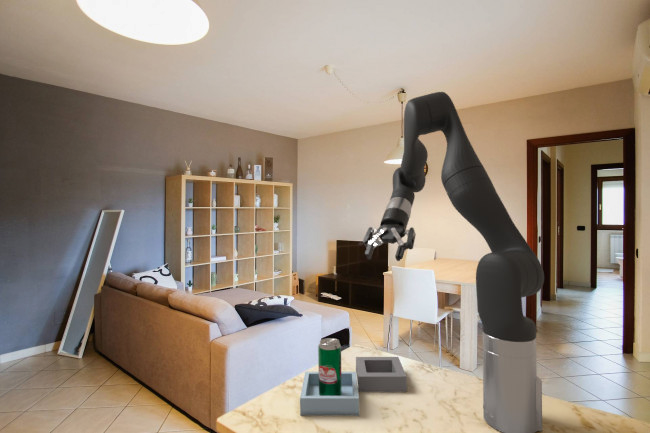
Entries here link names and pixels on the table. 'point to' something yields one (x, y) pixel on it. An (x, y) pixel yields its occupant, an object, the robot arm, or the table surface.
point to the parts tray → (329, 397)
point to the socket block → (380, 374)
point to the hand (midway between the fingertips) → (382, 258)
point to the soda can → (329, 367)
